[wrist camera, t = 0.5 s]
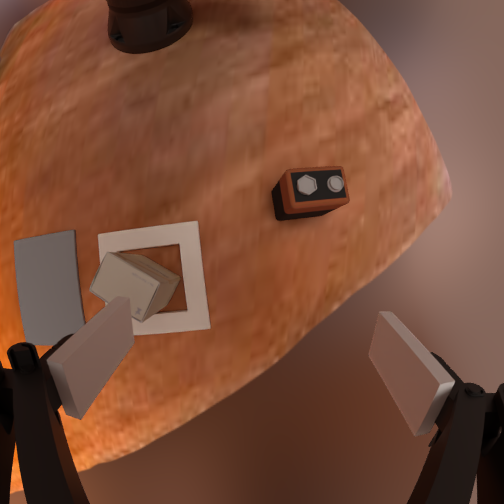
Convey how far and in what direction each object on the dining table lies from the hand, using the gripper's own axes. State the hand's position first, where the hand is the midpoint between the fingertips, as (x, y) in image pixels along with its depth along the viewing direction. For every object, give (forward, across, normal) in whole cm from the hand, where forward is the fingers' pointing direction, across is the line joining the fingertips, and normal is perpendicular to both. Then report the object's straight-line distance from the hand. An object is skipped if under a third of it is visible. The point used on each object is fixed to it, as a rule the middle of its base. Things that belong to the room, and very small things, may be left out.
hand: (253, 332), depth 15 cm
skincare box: (+22, -13, -5) cm, 26 cm away
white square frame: (+22, -13, -5) cm, 26 cm away
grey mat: (+19, -30, -8) cm, 36 cm away
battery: (+27, +5, +5) cm, 28 cm away
